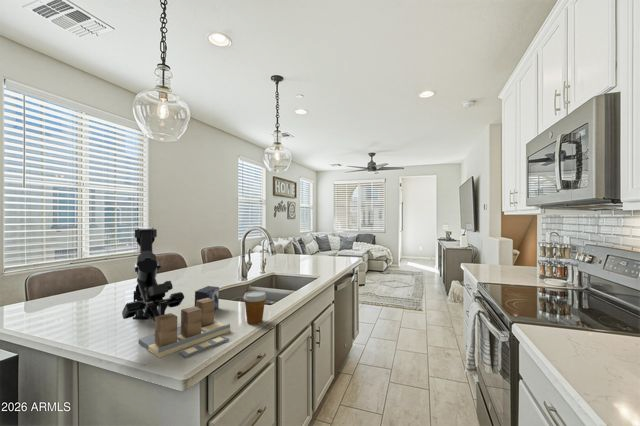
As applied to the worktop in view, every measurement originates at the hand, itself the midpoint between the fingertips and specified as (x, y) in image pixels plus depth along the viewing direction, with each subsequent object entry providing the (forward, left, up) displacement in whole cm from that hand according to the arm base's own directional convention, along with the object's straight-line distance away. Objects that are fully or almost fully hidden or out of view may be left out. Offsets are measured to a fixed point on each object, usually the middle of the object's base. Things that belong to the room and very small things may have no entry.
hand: (162, 325), depth 96 cm
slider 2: (+7, +17, -5) cm, 19 cm away
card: (+15, +1, -7) cm, 16 cm away
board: (+5, +8, -7) cm, 12 cm away
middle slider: (+7, +6, -5) cm, 11 cm away
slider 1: (+2, -2, -5) cm, 6 cm away
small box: (0, +36, -7) cm, 37 cm away
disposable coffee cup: (+26, +24, -7) cm, 36 cm away
